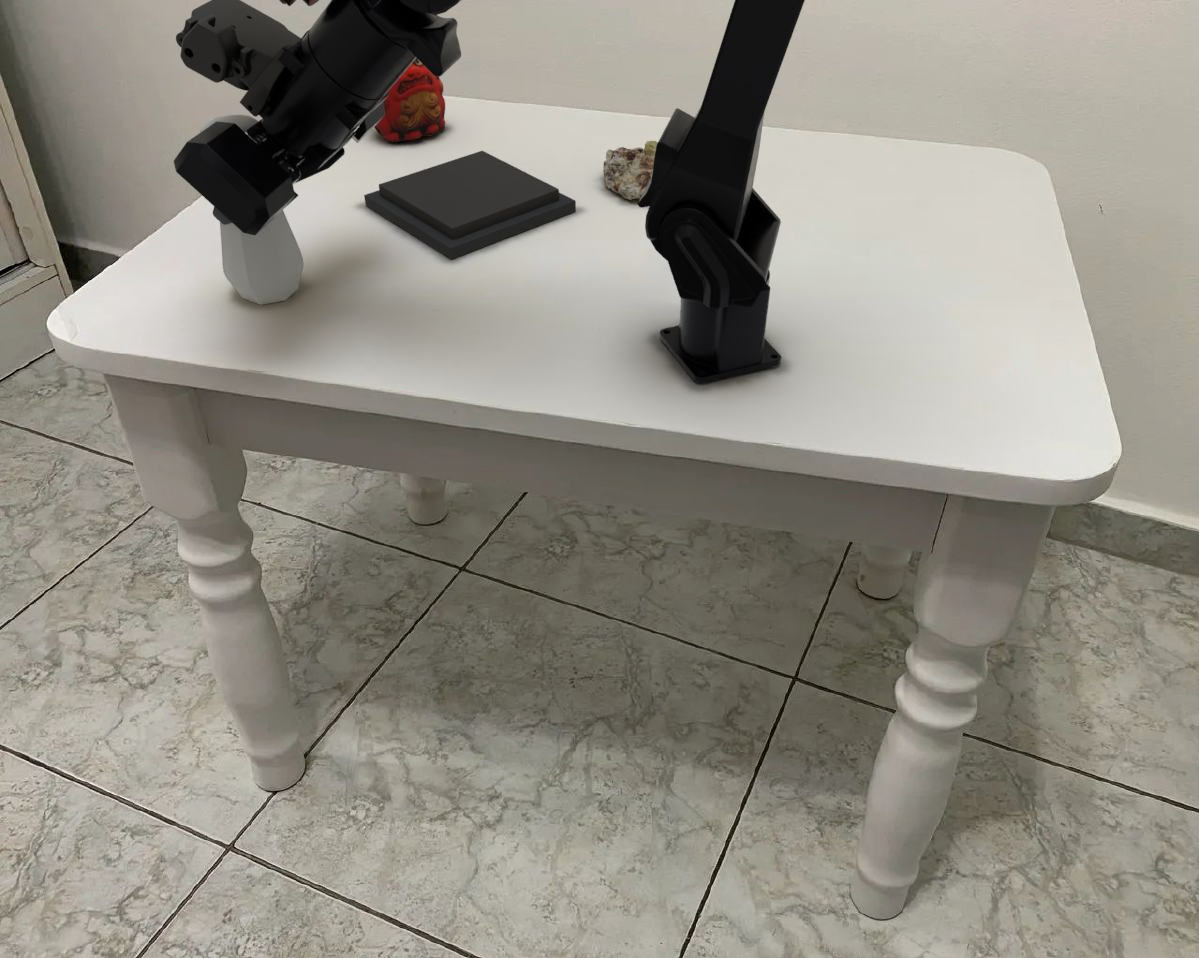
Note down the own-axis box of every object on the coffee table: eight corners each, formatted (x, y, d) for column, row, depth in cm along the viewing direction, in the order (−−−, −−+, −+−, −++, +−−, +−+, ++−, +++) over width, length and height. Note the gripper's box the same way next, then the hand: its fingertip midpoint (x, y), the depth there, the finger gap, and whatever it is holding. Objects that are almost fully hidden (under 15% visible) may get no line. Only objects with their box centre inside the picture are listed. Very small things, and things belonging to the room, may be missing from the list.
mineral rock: (586, 173, 87) (614, 117, 91) (589, 213, 90) (616, 156, 94) (707, 194, 84) (731, 135, 88) (705, 234, 88) (728, 175, 92)
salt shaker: (216, 290, 76) (168, 120, 68) (281, 264, 79) (244, 99, 71) (256, 318, 73) (212, 144, 65) (323, 290, 76) (289, 120, 68)
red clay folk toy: (396, 152, 96) (373, -17, 86) (356, 131, 100) (330, -33, 90) (460, 131, 100) (445, -33, 90) (420, 112, 104) (401, -47, 94)
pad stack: (576, 211, 86) (575, 189, 85) (451, 259, 80) (449, 236, 79) (486, 165, 94) (484, 144, 93) (365, 205, 87) (361, 183, 86)
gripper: (316, -78, 67) (210, 77, 76) (157, -1, 53) (51, 176, 63) (439, 53, 71) (323, 186, 80) (320, 157, 57) (197, 302, 66)
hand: (232, 207), depth 72 cm, fingers closed on salt shaker, 3 cm apart
